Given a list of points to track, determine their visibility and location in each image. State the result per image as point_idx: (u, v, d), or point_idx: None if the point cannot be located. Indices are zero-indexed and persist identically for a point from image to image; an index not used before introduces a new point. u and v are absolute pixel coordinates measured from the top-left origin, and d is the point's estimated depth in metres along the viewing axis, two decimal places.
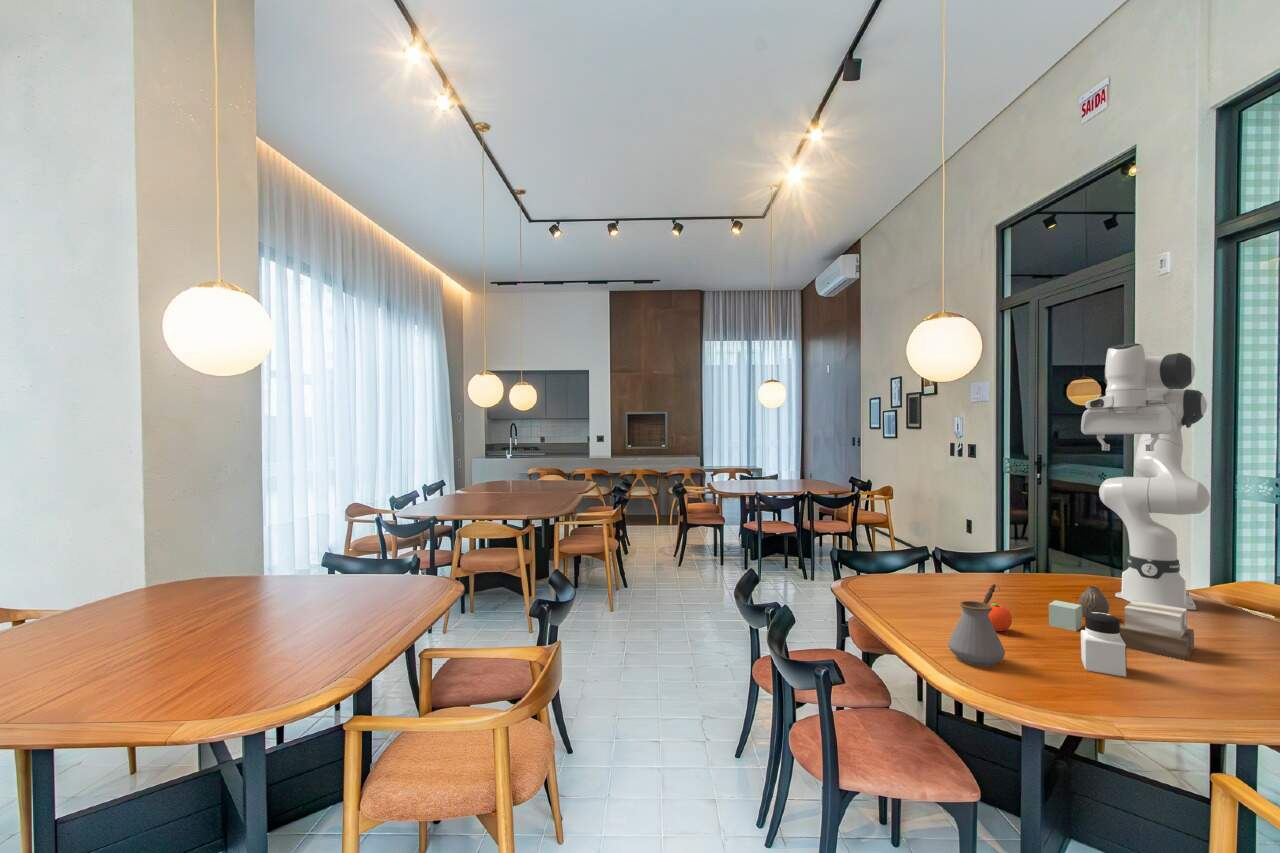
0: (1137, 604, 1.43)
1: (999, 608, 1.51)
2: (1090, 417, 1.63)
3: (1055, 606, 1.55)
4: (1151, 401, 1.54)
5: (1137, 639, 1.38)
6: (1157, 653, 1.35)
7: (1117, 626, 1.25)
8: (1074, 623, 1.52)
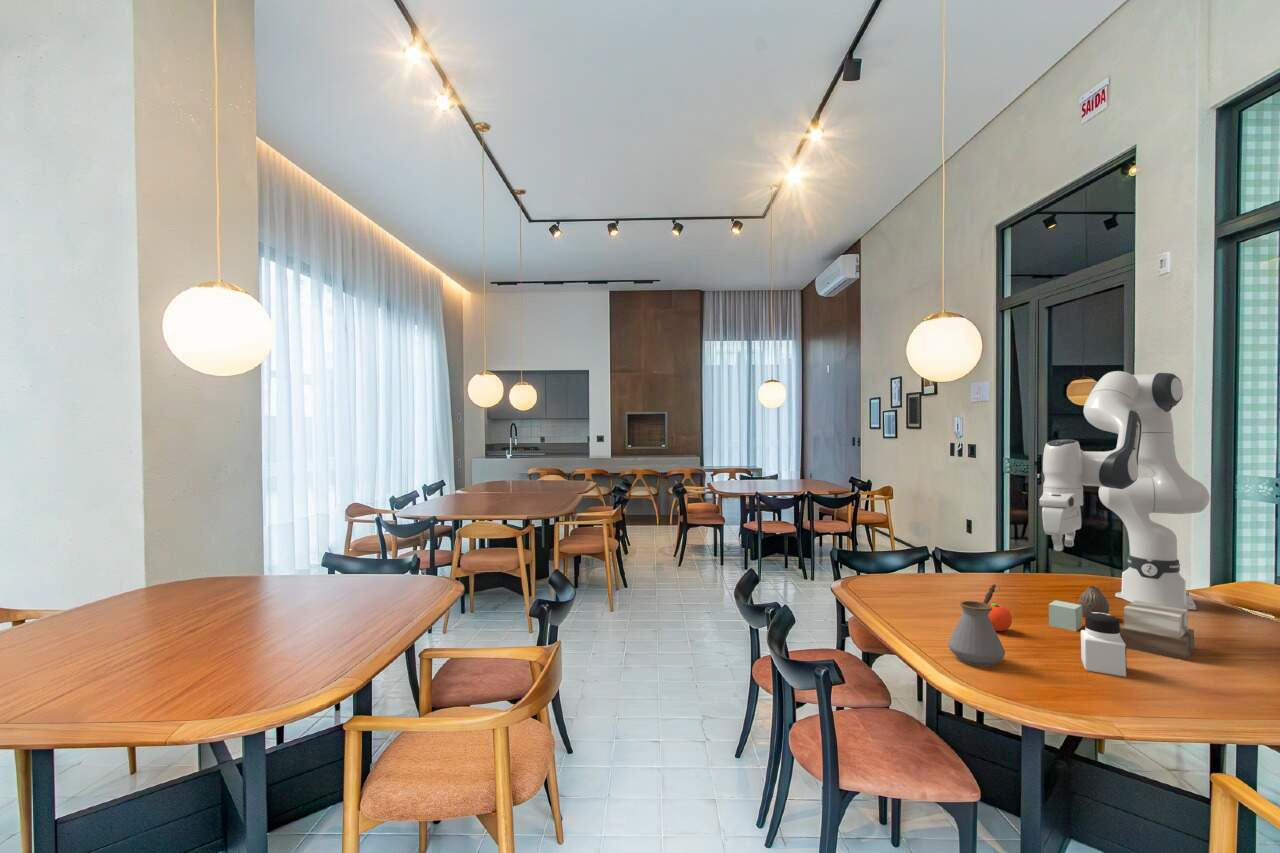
0: (1137, 604, 1.43)
1: (999, 608, 1.51)
2: None
3: (1055, 606, 1.55)
4: None
5: (1137, 639, 1.38)
6: (1157, 653, 1.35)
7: (1117, 626, 1.25)
8: (1074, 623, 1.52)
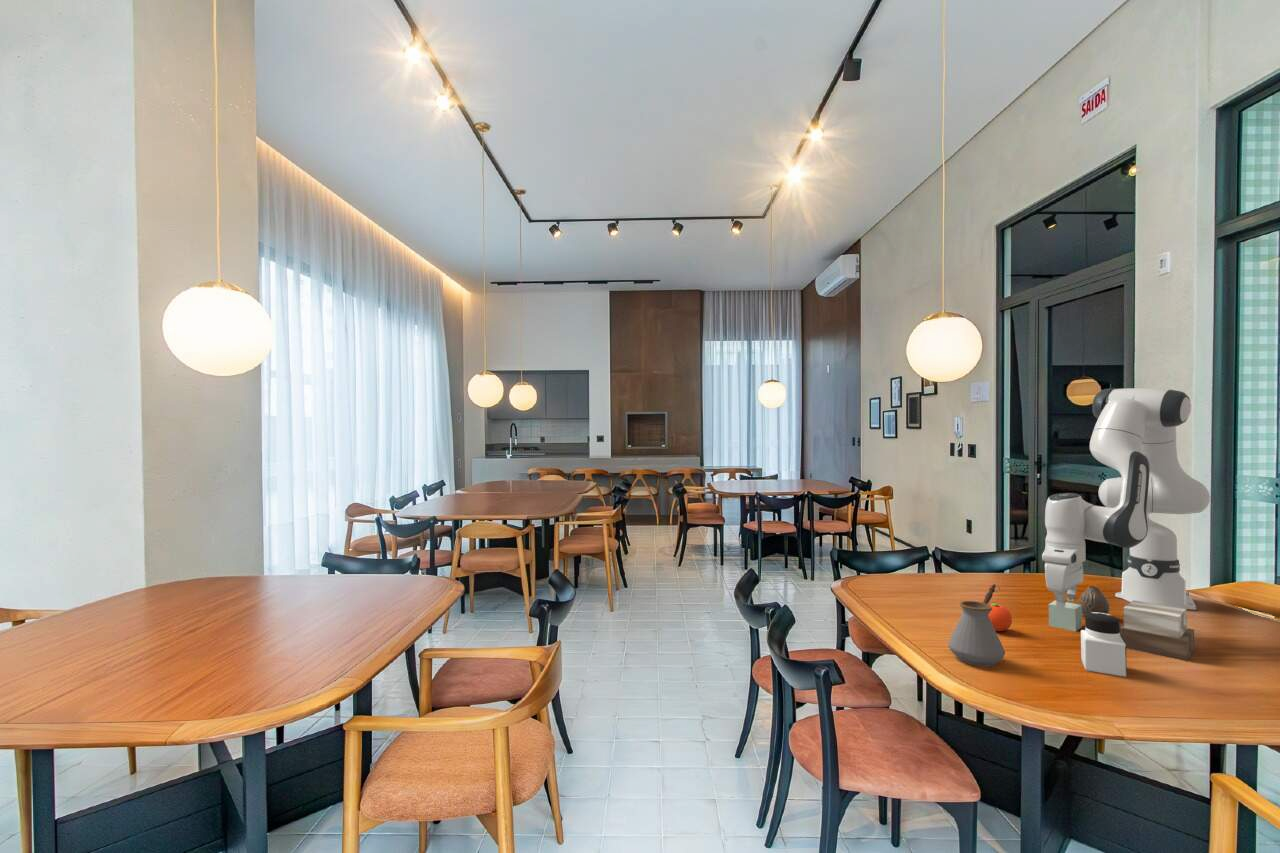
0: (1136, 604, 1.43)
1: (999, 608, 1.51)
2: None
3: (1055, 606, 1.55)
4: None
5: (1137, 639, 1.38)
6: (1157, 653, 1.35)
7: (1117, 626, 1.25)
8: (1074, 623, 1.52)
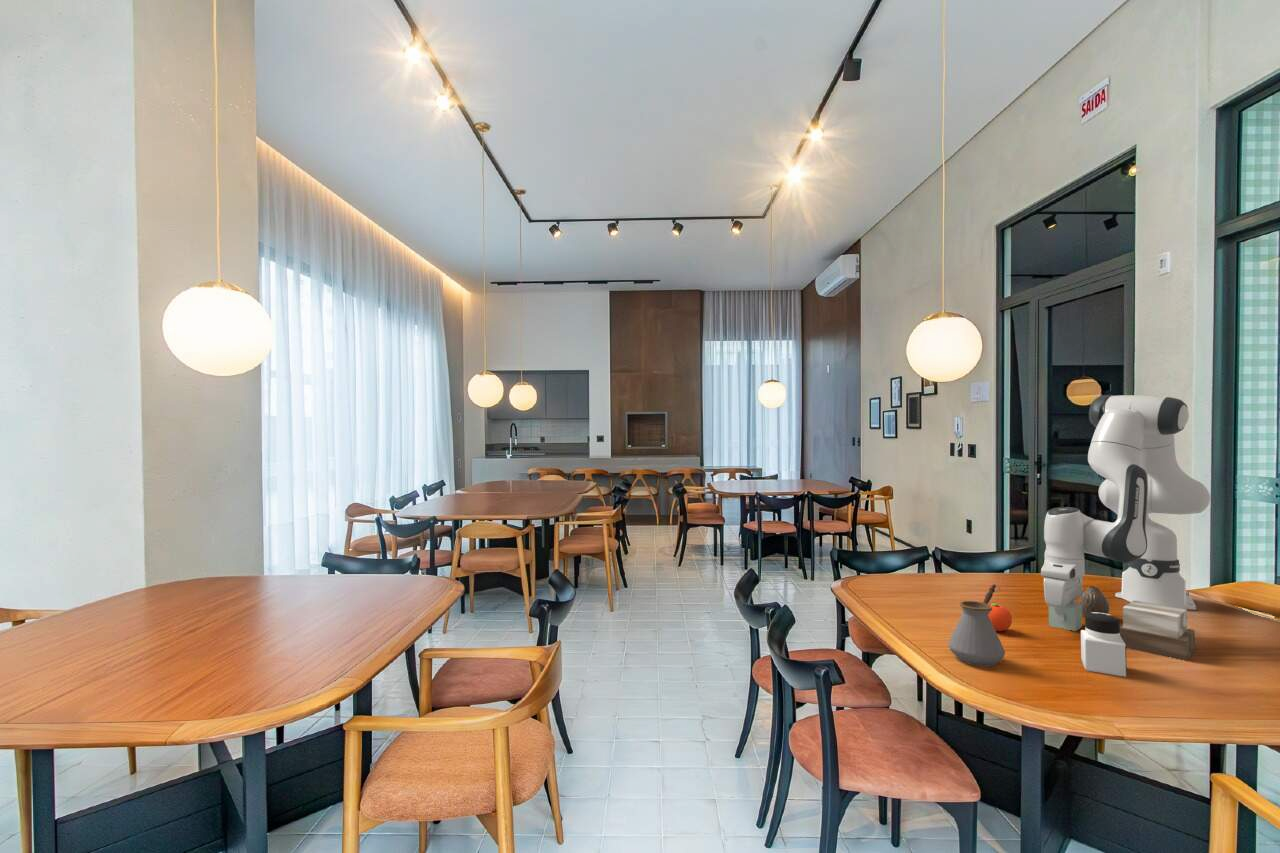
0: (1136, 604, 1.43)
1: (999, 608, 1.51)
2: None
3: None
4: None
5: (1137, 639, 1.38)
6: (1158, 653, 1.35)
7: (1117, 626, 1.25)
8: (1074, 623, 1.52)
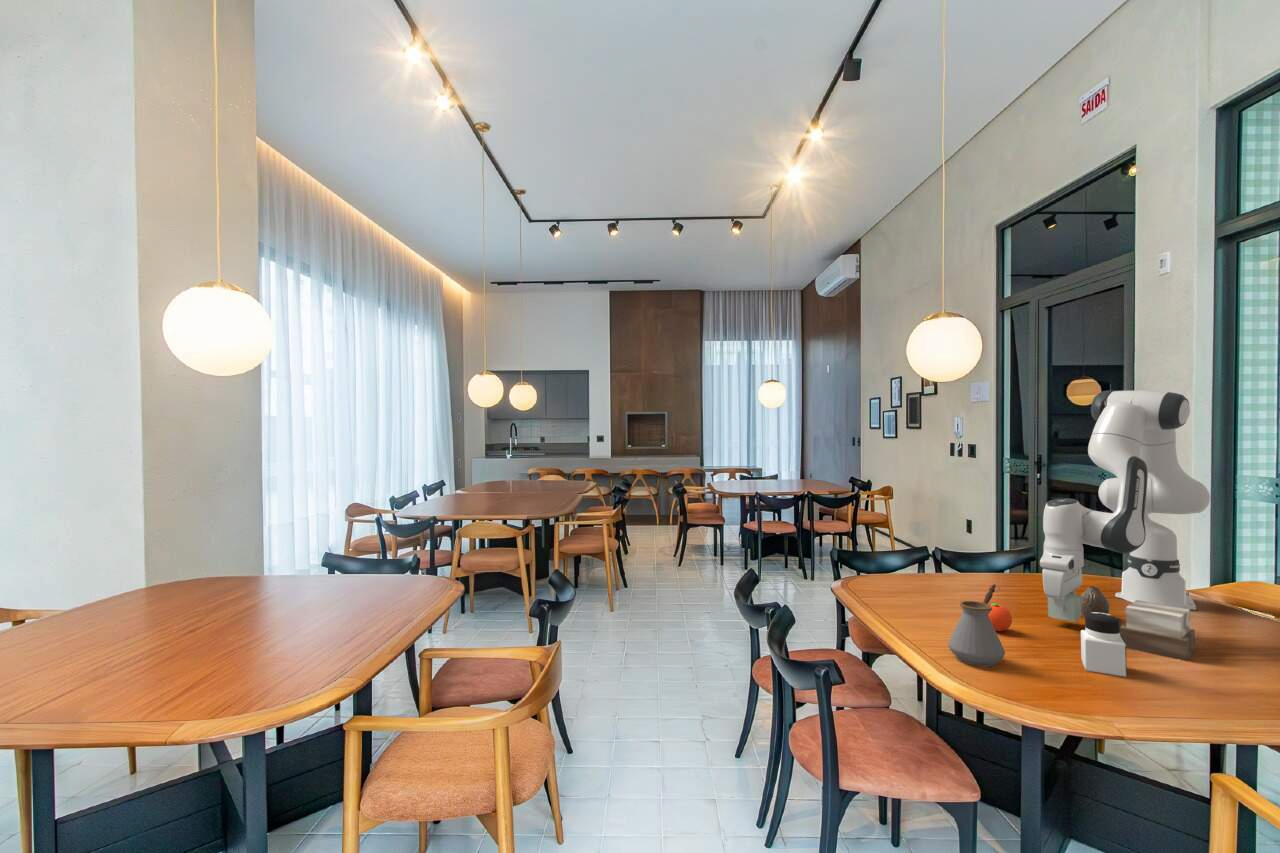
0: (1139, 604, 1.43)
1: (999, 608, 1.51)
2: None
3: None
4: None
5: (1137, 639, 1.38)
6: (1157, 653, 1.35)
7: (1117, 626, 1.25)
8: (1073, 613, 1.52)
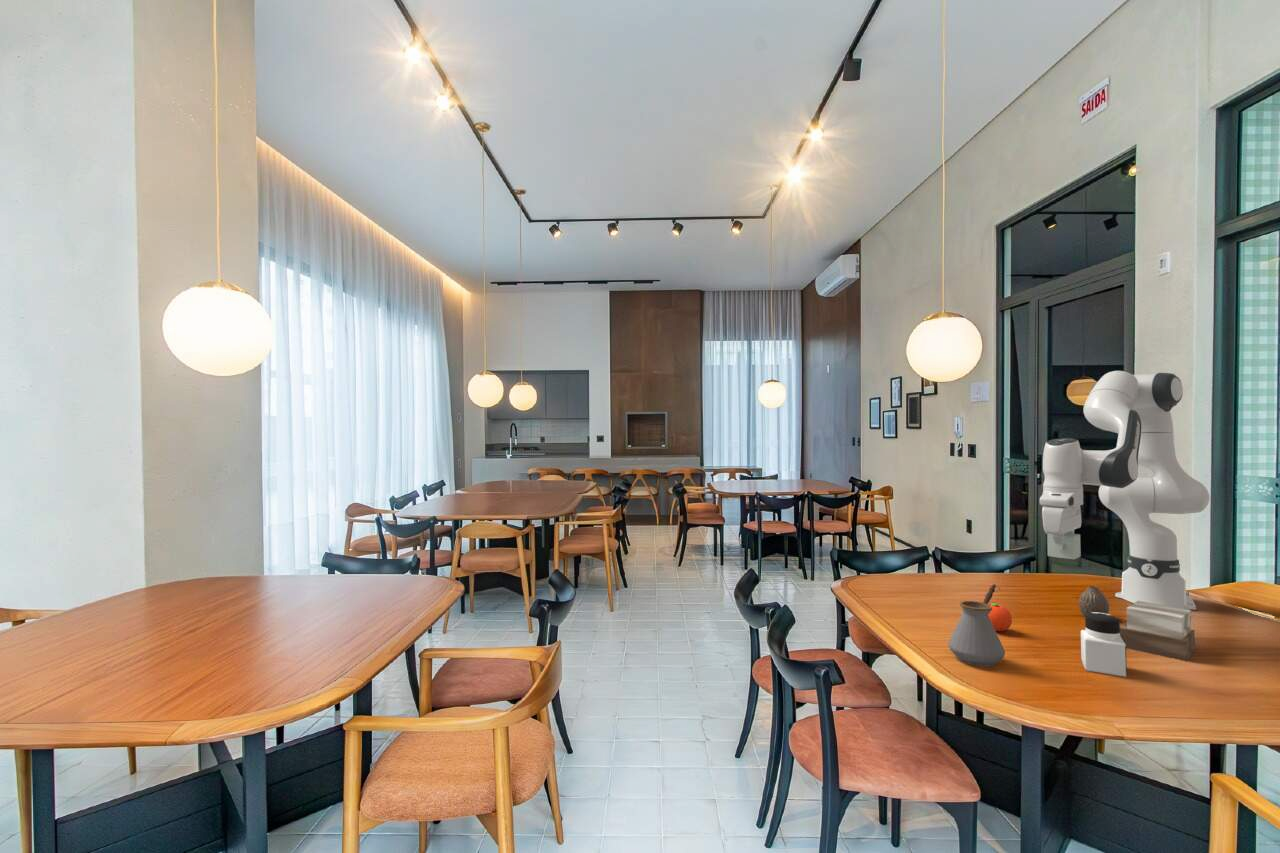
0: (1140, 605, 1.43)
1: (999, 608, 1.51)
2: None
3: None
4: None
5: (1137, 639, 1.38)
6: (1157, 653, 1.35)
7: (1117, 626, 1.25)
8: (1072, 551, 1.52)
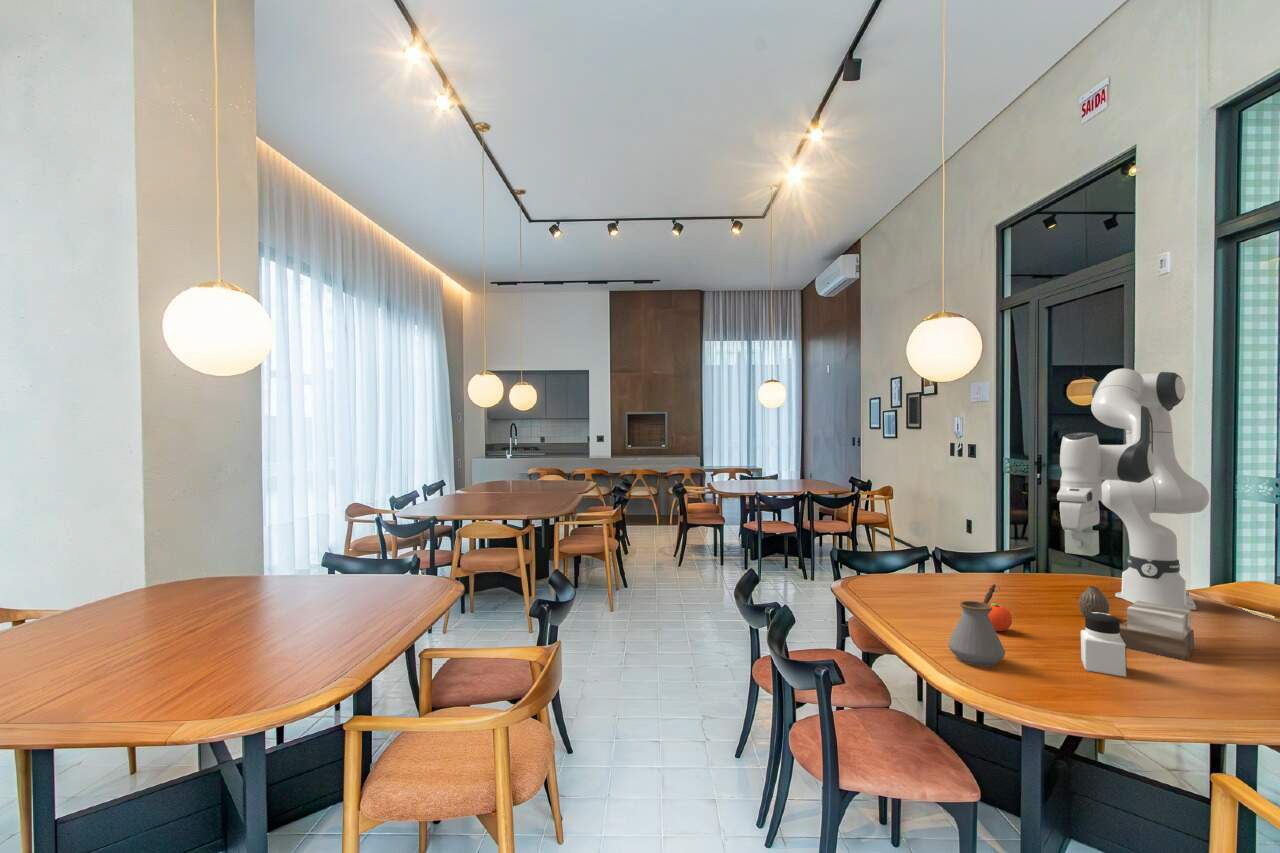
0: (1140, 605, 1.43)
1: (999, 608, 1.51)
2: None
3: None
4: None
5: (1136, 639, 1.38)
6: (1156, 653, 1.35)
7: (1117, 626, 1.25)
8: (1091, 547, 1.49)
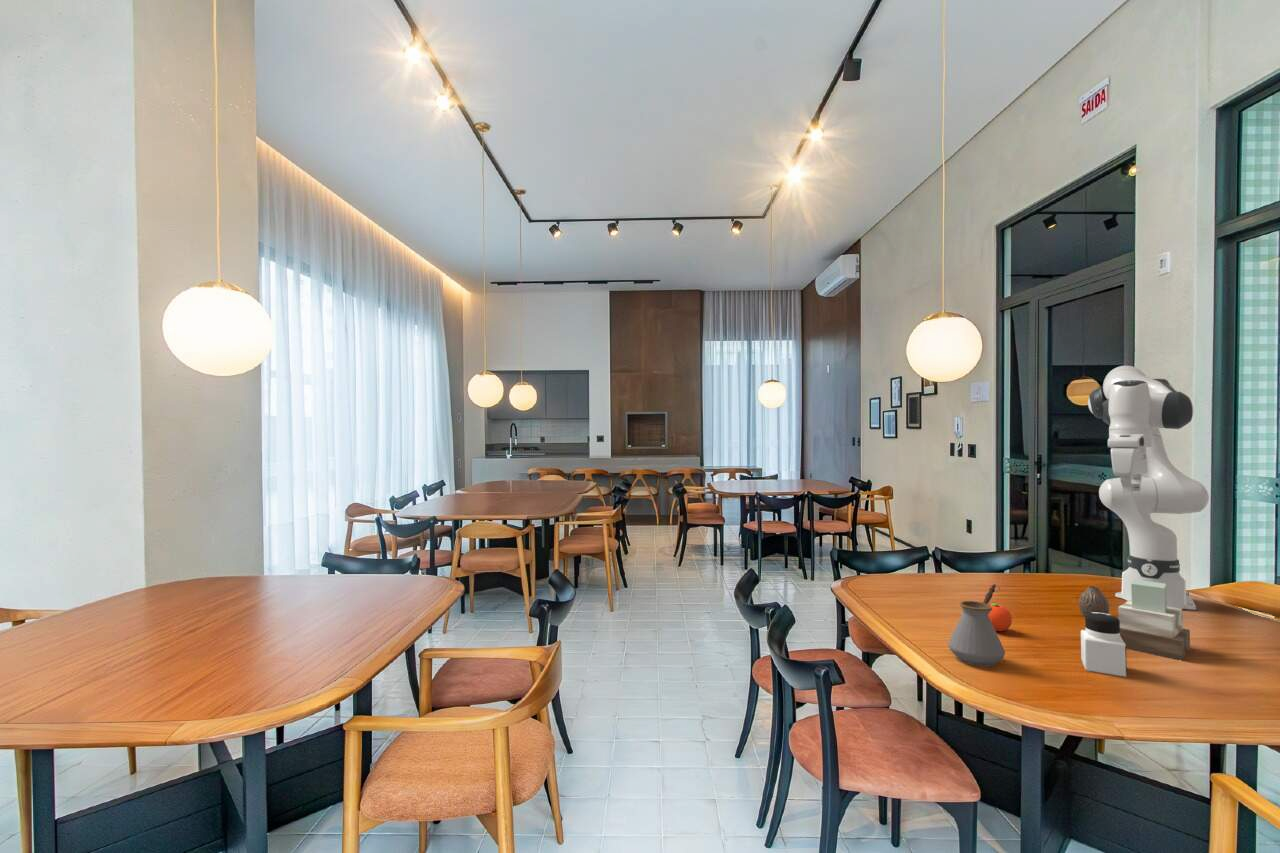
0: None
1: (999, 608, 1.51)
2: None
3: (1139, 586, 1.39)
4: None
5: (1132, 639, 1.38)
6: (1153, 653, 1.35)
7: (1117, 626, 1.25)
8: (1163, 604, 1.36)
